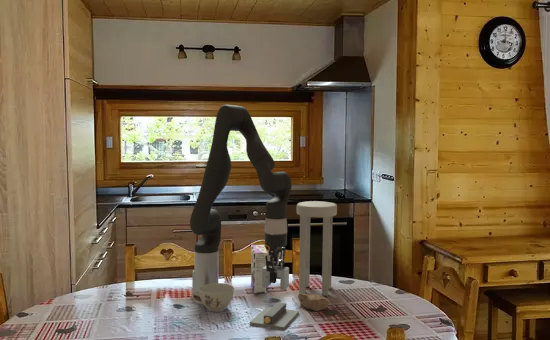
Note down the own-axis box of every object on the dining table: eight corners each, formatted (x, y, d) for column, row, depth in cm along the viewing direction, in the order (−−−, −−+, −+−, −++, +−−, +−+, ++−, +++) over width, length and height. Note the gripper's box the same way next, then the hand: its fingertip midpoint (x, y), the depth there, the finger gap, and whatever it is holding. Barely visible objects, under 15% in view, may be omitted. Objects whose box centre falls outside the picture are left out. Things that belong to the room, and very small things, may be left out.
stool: (292, 294, 210) (294, 205, 207) (299, 283, 225) (301, 200, 222) (332, 297, 207) (334, 207, 203) (336, 285, 222) (338, 201, 219)
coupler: (249, 324, 178) (249, 314, 178) (267, 309, 193) (267, 299, 193) (283, 330, 174) (284, 319, 174) (298, 313, 189) (299, 304, 189)
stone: (311, 313, 190) (311, 299, 190) (295, 303, 200) (295, 290, 200) (332, 309, 194) (333, 296, 194) (316, 300, 204) (316, 287, 204)
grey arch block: (262, 287, 182) (262, 268, 181) (266, 283, 186) (267, 265, 185) (284, 289, 179) (284, 270, 178) (288, 286, 183) (289, 267, 183)
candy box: (250, 283, 224) (250, 244, 223) (264, 282, 225) (265, 244, 223) (252, 293, 211) (253, 252, 209) (267, 293, 211) (268, 252, 210)
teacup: (234, 303, 199) (234, 282, 199) (234, 315, 187) (234, 292, 186) (193, 303, 198) (193, 282, 198) (190, 315, 186) (190, 293, 185)
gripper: (272, 226, 189) (272, 274, 190) (257, 234, 175) (257, 285, 177) (293, 228, 186) (292, 276, 188) (279, 236, 173) (278, 288, 174)
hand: (275, 280), depth 182 cm, fingers closed on grey arch block, 4 cm apart
